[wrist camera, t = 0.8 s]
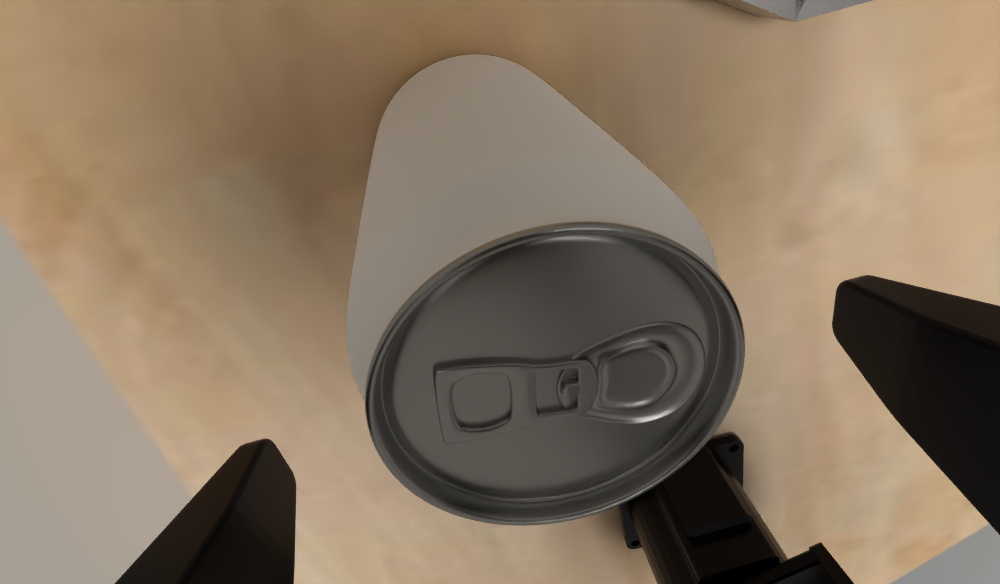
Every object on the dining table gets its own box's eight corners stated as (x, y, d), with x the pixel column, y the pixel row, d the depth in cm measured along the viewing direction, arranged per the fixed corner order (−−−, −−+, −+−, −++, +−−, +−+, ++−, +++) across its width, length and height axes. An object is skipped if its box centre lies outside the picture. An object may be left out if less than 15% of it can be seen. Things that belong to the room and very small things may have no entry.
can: (568, 234, 20) (734, 509, 10) (391, 254, 20) (376, 571, 9) (570, 42, 17) (824, 163, 7) (357, 60, 16) (274, 223, 6)
